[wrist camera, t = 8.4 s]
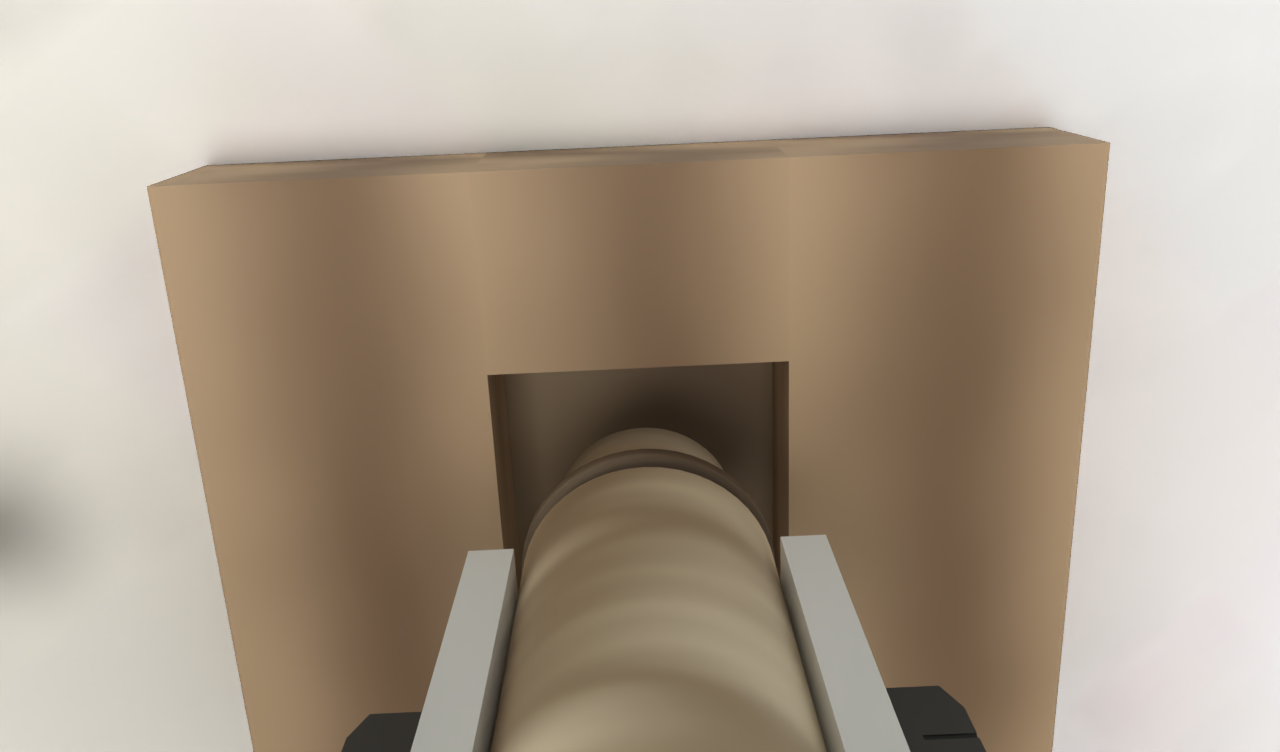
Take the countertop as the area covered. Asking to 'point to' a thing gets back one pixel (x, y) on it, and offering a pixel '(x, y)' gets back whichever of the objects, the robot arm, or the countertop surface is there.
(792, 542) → the robot arm
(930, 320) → the board
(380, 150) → the countertop surface
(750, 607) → the leg
